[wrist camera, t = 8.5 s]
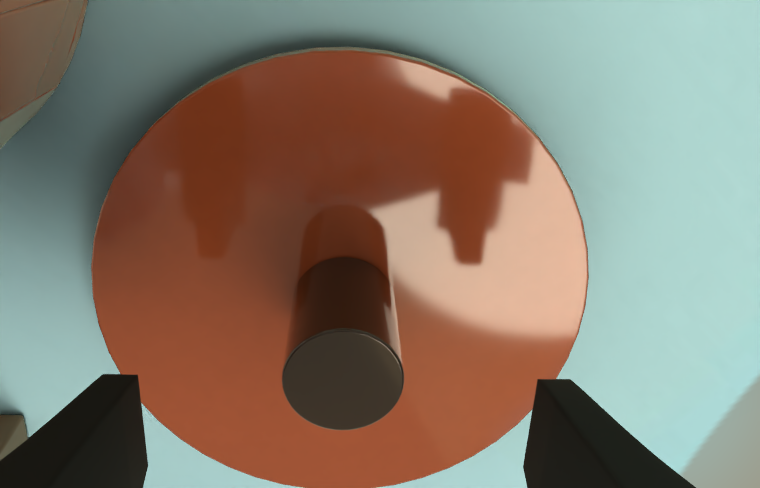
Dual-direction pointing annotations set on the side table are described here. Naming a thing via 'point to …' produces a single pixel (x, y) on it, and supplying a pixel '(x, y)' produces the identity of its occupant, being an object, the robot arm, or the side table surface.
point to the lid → (339, 268)
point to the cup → (34, 55)
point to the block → (11, 433)
